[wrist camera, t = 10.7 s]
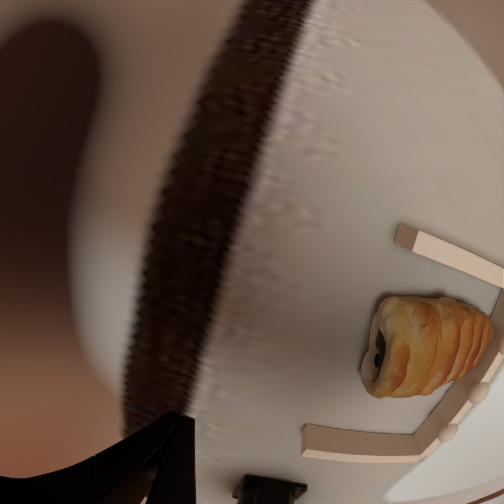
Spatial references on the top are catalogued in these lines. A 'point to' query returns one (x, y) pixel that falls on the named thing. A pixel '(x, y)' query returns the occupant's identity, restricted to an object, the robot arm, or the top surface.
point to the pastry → (422, 345)
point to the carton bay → (455, 400)
